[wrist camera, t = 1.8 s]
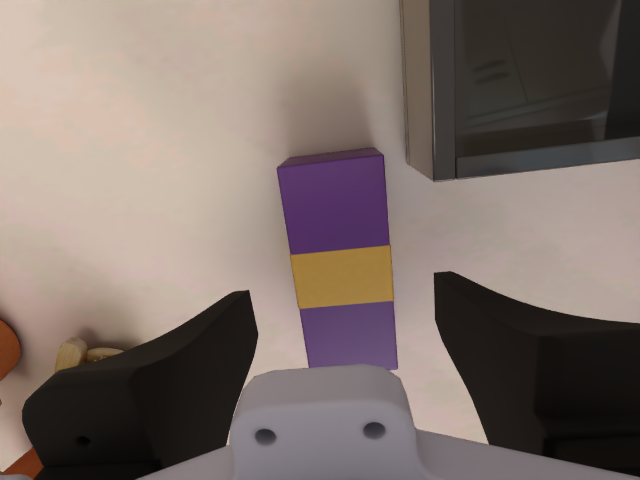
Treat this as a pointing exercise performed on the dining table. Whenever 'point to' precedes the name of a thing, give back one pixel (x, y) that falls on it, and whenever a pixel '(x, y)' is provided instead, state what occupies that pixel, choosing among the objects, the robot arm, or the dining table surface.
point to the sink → (519, 85)
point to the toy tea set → (4, 355)
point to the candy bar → (341, 256)
